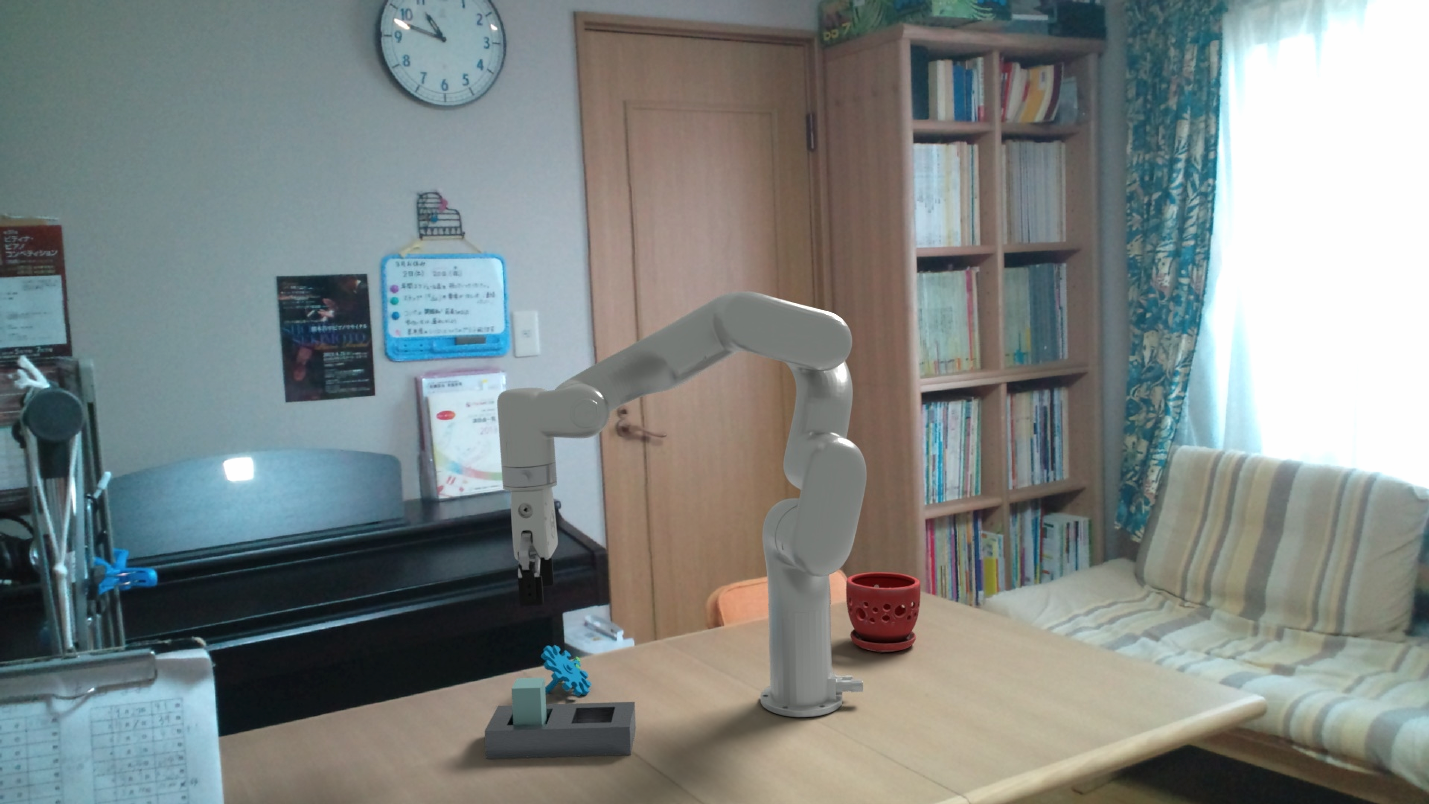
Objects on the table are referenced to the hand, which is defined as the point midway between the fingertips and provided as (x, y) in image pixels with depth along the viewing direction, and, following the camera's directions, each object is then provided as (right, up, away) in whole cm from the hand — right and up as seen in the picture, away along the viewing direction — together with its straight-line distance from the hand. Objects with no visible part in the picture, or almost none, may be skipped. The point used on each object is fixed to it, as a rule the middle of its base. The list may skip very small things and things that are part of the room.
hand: (537, 595), depth 146 cm
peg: (-1, -21, 0) cm, 21 cm away
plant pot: (+56, -16, +39) cm, 70 cm away
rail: (+4, -21, 0) cm, 21 cm away
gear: (+2, -20, +20) cm, 28 cm away
